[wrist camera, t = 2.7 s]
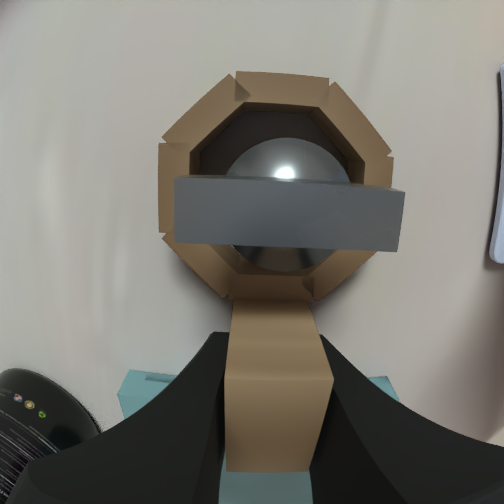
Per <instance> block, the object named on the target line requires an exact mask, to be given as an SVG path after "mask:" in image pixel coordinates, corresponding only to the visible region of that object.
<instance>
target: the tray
mask: <svg viewBox="0 0 504 504" xmlns="http://www.w3.org/2000/svg"><path fill="white" fill-rule="evenodd" d="M176 377H177V376H174V375H165V374H156V373H148V372H140V371H133V370H129V372H128V374H127V376H126V378H125V380H124V382H123V384H122V386H121V388H120V390H119V392H118V398H119V401H120V405H121V408H122V412H123V415H124V418H125V419H126V418H128V417H129V416H130V415H132V414H133V413H135V412H136V411H138V410H139V409H140V408H142V407H143V406H144V405H146V404H147V403H148V402H149V401H151V400H152V399H153V398H154V397H155V396H157V395H158V394H159V393H160V392H161V391H162V390H163V389H164V388H165V387H166V386H167V385H168V384H170V383H171V382H172V381H173V380H174V379H175V378H176ZM368 379H369V380H370V381H371V382H373V383H374V384H375V385H376V386H378V387H379V388H380V389H381V390H383V391H384V392H385V393H387V394H388V395H389V396H391V397H392V398H394V399H395V400H397V401H398V402H399V398H398V396H397V394H396V392H395V390H394V389H393V387H392V385H391V383H390V381H389V379H388V377H387V376H386V377H374V378H368ZM219 504H313V499H312V488H311V480H310V474H309V470H308V472H287V473H246V472H226V449H225V455H224V460H223V466H222V471H221V479H220V489H219Z"/></svg>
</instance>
